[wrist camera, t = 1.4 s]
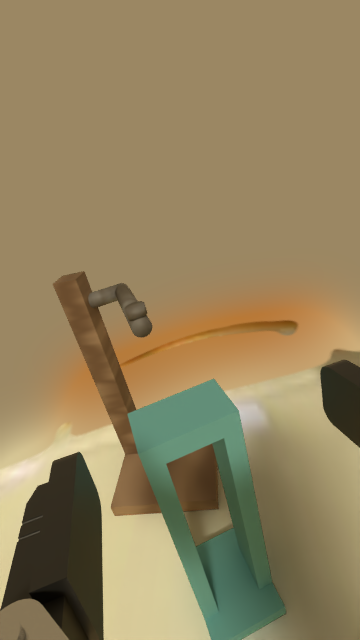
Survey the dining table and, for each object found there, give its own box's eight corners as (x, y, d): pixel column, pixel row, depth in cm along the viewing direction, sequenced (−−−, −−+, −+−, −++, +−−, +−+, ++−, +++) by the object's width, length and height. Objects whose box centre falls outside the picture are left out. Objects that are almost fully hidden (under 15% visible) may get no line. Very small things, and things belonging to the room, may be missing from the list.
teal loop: (242, 529, 31) (203, 365, 23) (286, 613, 25) (254, 430, 17) (185, 559, 30) (122, 398, 22) (216, 653, 24) (145, 480, 16)
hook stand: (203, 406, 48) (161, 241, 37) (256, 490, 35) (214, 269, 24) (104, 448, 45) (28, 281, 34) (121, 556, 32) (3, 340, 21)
